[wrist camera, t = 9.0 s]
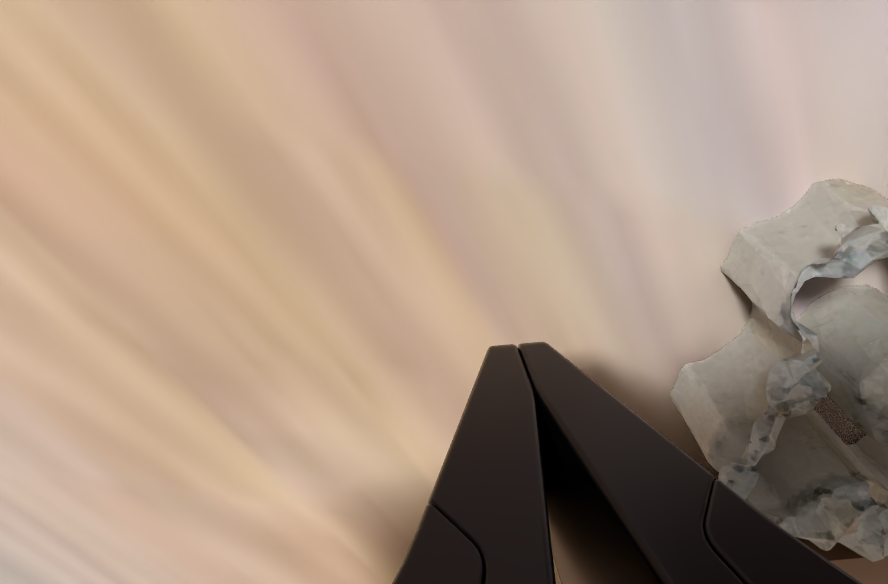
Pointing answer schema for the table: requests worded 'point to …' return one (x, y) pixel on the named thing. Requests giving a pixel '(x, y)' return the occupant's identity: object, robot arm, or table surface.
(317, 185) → the table surface
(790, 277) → the egg carton
